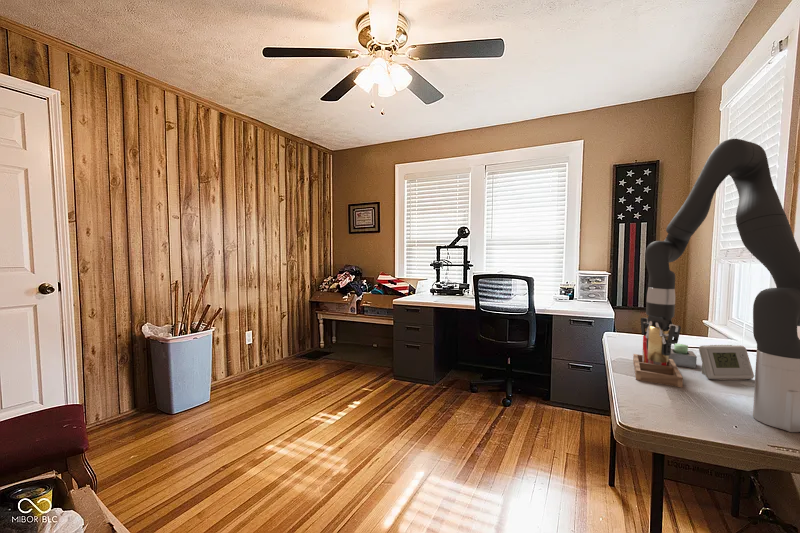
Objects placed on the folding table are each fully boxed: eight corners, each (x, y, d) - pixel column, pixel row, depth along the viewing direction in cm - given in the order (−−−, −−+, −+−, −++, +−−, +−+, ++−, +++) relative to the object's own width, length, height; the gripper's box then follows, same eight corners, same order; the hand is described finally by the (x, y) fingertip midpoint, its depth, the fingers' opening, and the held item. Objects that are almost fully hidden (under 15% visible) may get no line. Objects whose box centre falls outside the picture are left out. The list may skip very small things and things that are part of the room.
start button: (690, 354, 130) (690, 346, 130) (680, 354, 130) (680, 346, 130) (681, 351, 134) (681, 343, 134) (671, 351, 134) (671, 343, 134)
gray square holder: (696, 368, 126) (696, 356, 126) (668, 364, 131) (668, 352, 130) (692, 362, 133) (692, 351, 133) (665, 359, 137) (666, 348, 137)
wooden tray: (682, 387, 108) (682, 377, 108) (635, 379, 114) (636, 370, 114) (672, 367, 127) (672, 359, 127) (633, 361, 134) (633, 353, 133)
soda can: (670, 373, 121) (672, 336, 121) (647, 371, 123) (649, 334, 122) (660, 366, 128) (661, 331, 128) (638, 365, 130) (639, 330, 129)
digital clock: (707, 380, 115) (708, 348, 114) (688, 371, 124) (690, 341, 123) (763, 384, 112) (765, 351, 112) (740, 374, 121) (742, 344, 121)
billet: (672, 362, 113) (674, 328, 113) (656, 362, 113) (658, 328, 113) (659, 357, 119) (660, 325, 119) (643, 357, 119) (644, 325, 118)
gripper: (690, 305, 108) (687, 359, 109) (654, 298, 123) (651, 346, 123) (668, 305, 108) (665, 359, 109) (633, 298, 122) (631, 346, 123)
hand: (657, 352), depth 116 cm, fingers closed on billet, 5 cm apart
